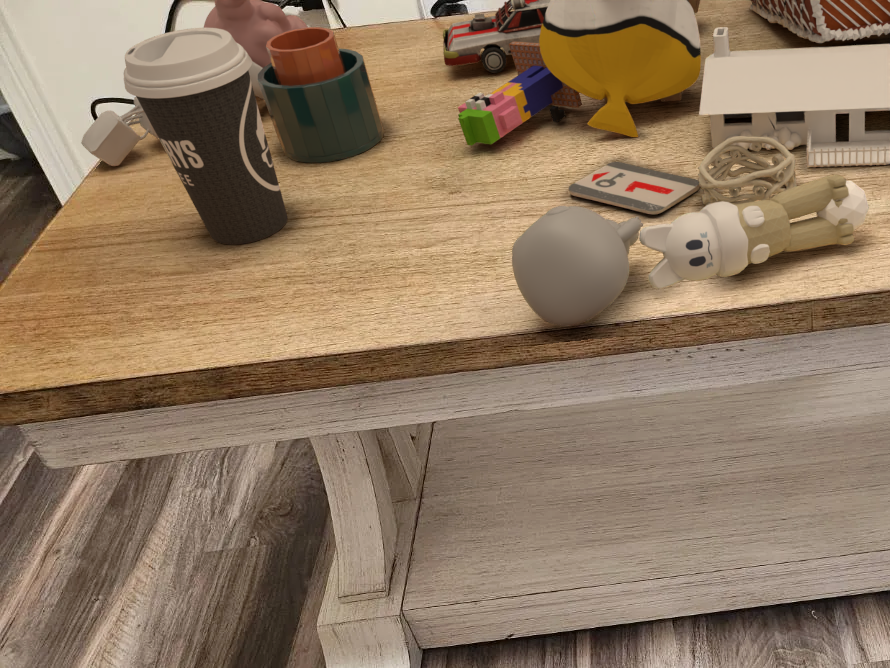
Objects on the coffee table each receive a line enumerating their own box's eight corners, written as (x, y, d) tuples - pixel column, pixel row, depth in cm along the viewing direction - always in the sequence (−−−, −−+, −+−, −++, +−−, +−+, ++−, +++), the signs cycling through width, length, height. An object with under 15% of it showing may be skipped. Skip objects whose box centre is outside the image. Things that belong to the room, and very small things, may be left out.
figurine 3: (627, 164, 82) (553, 195, 72) (688, 249, 84) (624, 291, 74) (556, 227, 87) (477, 264, 77) (615, 307, 88) (545, 353, 78)
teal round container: (302, 172, 103) (276, 96, 98) (270, 140, 109) (244, 67, 104) (399, 141, 106) (378, 67, 101) (362, 112, 112) (341, 40, 107)
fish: (562, -135, 96) (731, -92, 99) (552, -56, 108) (702, -20, 111) (532, 86, 95) (703, 123, 98) (526, 140, 107) (678, 172, 110)
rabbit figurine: (886, 240, 83) (663, 302, 79) (831, 226, 92) (626, 282, 88) (877, 166, 81) (647, 227, 77) (821, 159, 90) (610, 214, 85)
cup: (311, 155, 104) (278, 56, 98) (290, 135, 108) (257, 39, 101) (371, 136, 106) (342, 38, 100) (349, 117, 110) (320, 22, 104)
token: (654, 212, 90) (561, 187, 95) (654, 217, 90) (561, 192, 95) (705, 180, 94) (614, 157, 99) (705, 185, 95) (614, 162, 99)
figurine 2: (566, 45, 104) (480, 100, 97) (582, 104, 108) (500, 162, 101) (513, 41, 107) (426, 95, 101) (530, 99, 111) (448, 154, 105)
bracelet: (686, 146, 92) (708, 185, 86) (777, 124, 93) (806, 162, 87) (693, 191, 95) (715, 232, 89) (782, 170, 96) (810, 209, 90)
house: (695, 187, 94) (686, 100, 89) (720, 79, 111) (714, 1, 106) (995, 177, 92) (1004, 87, 86) (974, 68, 108) (980, -13, 103)
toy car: (447, 55, 122) (429, -19, 116) (609, 32, 123) (599, -43, 118) (448, 81, 116) (429, 4, 111) (618, 56, 118) (608, -21, 112)
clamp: (283, 93, 116) (254, 27, 111) (298, 102, 114) (268, 35, 109) (99, 175, 109) (59, 108, 104) (111, 186, 107) (70, 118, 102)
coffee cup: (233, 196, 100) (164, 22, 89) (326, 203, 97) (266, 24, 87) (168, 249, 93) (85, 67, 83) (266, 257, 91) (193, 71, 81)
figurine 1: (322, 94, 116) (282, -30, 108) (214, 107, 115) (166, -16, 107) (332, 64, 122) (296, -56, 114) (231, 76, 122) (187, -43, 114)
